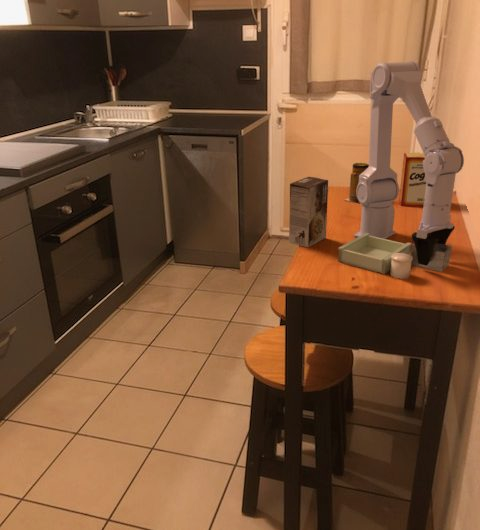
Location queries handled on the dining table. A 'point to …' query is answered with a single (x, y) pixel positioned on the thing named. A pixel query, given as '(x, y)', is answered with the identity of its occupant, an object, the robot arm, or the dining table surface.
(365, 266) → the tote
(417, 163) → the baking soda box
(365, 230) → the robot arm
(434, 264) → the tea tin
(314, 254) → the dining table surface
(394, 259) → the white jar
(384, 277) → the dining table surface
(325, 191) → the coffee box
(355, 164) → the condiment
